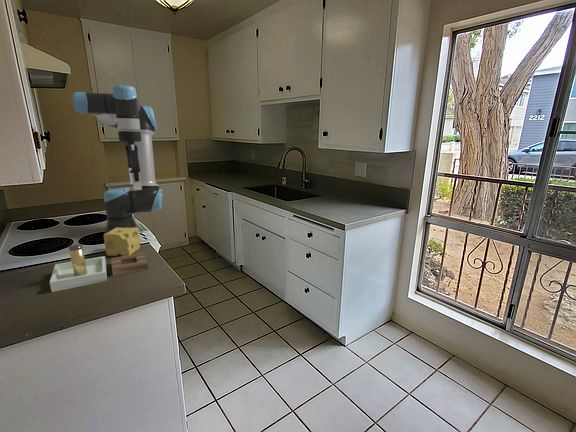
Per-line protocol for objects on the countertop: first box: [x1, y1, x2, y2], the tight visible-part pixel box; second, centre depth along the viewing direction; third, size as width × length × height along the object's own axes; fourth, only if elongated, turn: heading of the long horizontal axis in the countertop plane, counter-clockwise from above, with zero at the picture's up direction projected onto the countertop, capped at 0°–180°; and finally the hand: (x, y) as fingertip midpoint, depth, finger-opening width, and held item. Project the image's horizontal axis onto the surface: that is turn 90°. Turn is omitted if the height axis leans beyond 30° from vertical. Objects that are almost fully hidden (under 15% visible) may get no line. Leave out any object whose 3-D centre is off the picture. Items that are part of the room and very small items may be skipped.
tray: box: [49, 255, 108, 293], centre depth 112 cm, size 16×16×4 cm
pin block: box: [110, 252, 149, 277], centre depth 120 cm, size 12×12×2 cm
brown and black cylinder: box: [68, 243, 87, 276], centre depth 110 cm, size 4×4×11 cm
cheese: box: [103, 226, 141, 257], centre depth 134 cm, size 10×11×10 cm
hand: (136, 186), depth 119 cm, fingers open, 13 cm apart
